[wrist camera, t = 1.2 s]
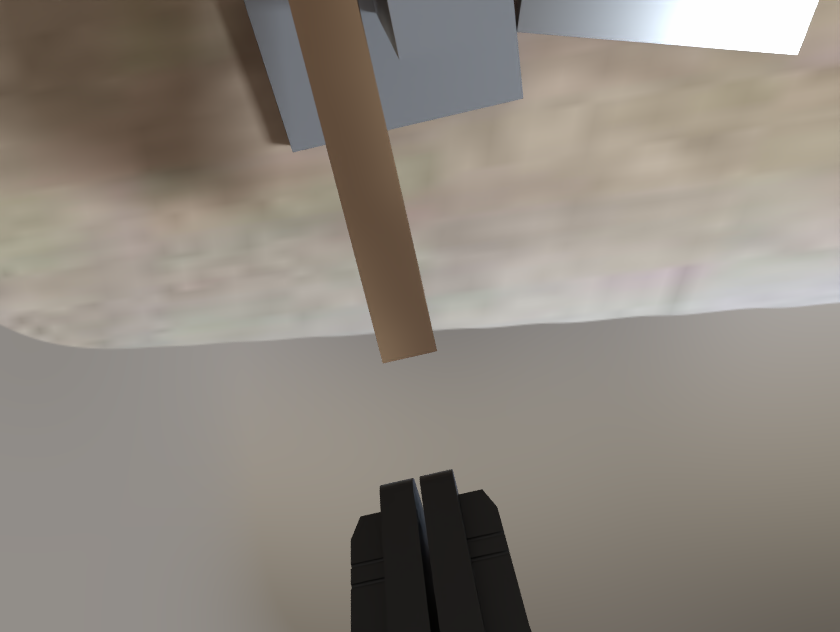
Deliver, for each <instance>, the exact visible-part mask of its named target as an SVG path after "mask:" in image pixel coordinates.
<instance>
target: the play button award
mask: <svg viewBox="0 0 840 632" xmlns="http://www.w3.org/2000/svg"><path fill="white" fill-rule="evenodd" d="M817 3H818V0H518V2H517V9H516V16H515V20H516V30H517V32H522V33H535V34H547V35H559V36H572V37H584V38H596V39H609V40H621V41H633V42H646V43H658V44H670V45H683V46H695V47H707V48H720V49H732V50H745V51H757V52H769V53H782V54H794V55H797V54H798V52H799V49H800V47H801V44H802V41H803V39H804V36H805V34H806V31H807V28H808V26H809V23H810V21H811V18H812V15H813V13H814V10H815V8H816V5H817Z"/></svg>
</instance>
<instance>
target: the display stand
mask: <svg viewBox="0 0 840 632" xmlns="http://www.w3.org/2000/svg"><path fill="white" fill-rule="evenodd" d="M244 3H245V6H246V9H247V12H248V15H249V18H250V21H251V24H252V28H253V31H254V34H255V37H256V40H257V43H258V46H259V49H260V52H261V55H262V58H263V62H264V65H265V68H266V71H267V74H268V77H269V80H270V83H271V86H272V89H273V92H274V96H275V99H276V102H277V105H278V108H279V111H280V114H281V117H282V120H283V123H284V126H285V129H286V133H287V136H288V139H289V142H290V145H291V148H292V151H293V152H296V151H300V150H305V149H309V148H313V147H318V146H322V145H326V143H325V140H324V136H323V132H322V128H321V124H320V120H319V117H318V113H317V109H316V105H315V101H314V97H313V94H312V90H311V86H310V82H309V78H308V75H307V71H306V67H305V63H304V59H303V55H302V52H301V48H300V44H299V40H298V36H297V32H296V29H295V25H294V21H293V17H292V13H291V9H290V6H289V2H288V0H244ZM358 4H359V8H360V13H361V17H362V22H363V26H364V30H365V35H366V39H367V43H368V48H369V52H370V57H371V61H372V65H373V70H374V74H375V79H376V83H377V87H378V92H379V96H380V100H381V105H382V109H383V114H384V118H385V122H386V127H387V130H390V129H394V128H399V127H403V126H407V125H412V124H416V123H420V122H424V121H429V120H433V119H437V118H442V117H446V116H450V115H454V114H459V113H463V112H467V111H471V110H476V109H480V108H484V107H489V106H493V105H497V104H501V103H506V102H510V101H514V100H518V99H523V91H522V81H521V71H520V60H519V50H518V40H517V30H516V20H515V10H514V0H358Z"/></svg>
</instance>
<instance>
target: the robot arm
mask: <svg viewBox="0 0 840 632" xmlns="http://www.w3.org/2000/svg"><path fill="white" fill-rule="evenodd" d="M420 486H421V494H422V501H423V507H422V503H421V500H420V497H419V493H418V490H417V487H416V483H415V480H414V479H413V478H411V479H407V480H402V481H398V482H393V483H389V484H385V485H381V486H380V504H381V505H380V506H381V512H379V513H374V514H370V515H365V516H361V517H360V519H359V521H358V524H357V526H356V529H355V531H354V534H353V536H352V538H351V567H352V569H351V586H352V589H351V632H531V629H530V626H529V623H528V619H527V615H526V612H525V608H524V604H523V601H522V597H521V593H520V589H519V586H518V582H517V579H516V575H515V571H514V567H513V564H512V560H511V556H510V553H509V549H508V545H507V541H506V538H505V535H504V530H503V526H502V523H501V519H500V515H499V512H498V508H497V506H496V505H495V504H494V503H493V502H492V500H491V499H490V498H489V497H488V496H487V495H486V493H485V492H484V491H483V490H477V491H473V492H468V493H464V494H458V490H457V486H456V481H455V477H454V474H453V470H452V469H451V470H447V471H442V472H438V473H433V474H429V475H424V476H420ZM423 509H424V510H423Z"/></svg>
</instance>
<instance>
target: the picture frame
mask: <svg viewBox="0 0 840 632" xmlns="http://www.w3.org/2000/svg"><path fill="white" fill-rule="evenodd" d="M288 2H289V6H290V9H291V13H292V17H293V21H294V25H295V29H296V32H297V36H298V40H299V44H300V48H301V52H302V55H303V59H304V63H305V67H306V71H307V75H308V78H309V82H310V86H311V90H312V94H313V97H314V101H315V105H316V109H317V113H318V117H319V120H320V124H321V128H322V132H323V136H324V140H325V143H326V147H327V151H328V155H329V159H330V163H331V166H332V170H333V174H334V178H335V182H336V186H337V189H338V193H339V197H340V201H341V205H342V209H343V212H344V216H345V220H346V224H347V228H348V232H349V235H350V239H351V243H352V247H353V251H354V255H355V258H356V262H357V266H358V270H359V274H360V277H361V281H362V285H363V289H364V293H365V297H366V300H367V304H368V308H369V312H370V316H371V320H372V323H373V327H374V331H375V335H376V339H377V342H378V346H379V350H380V354H381V358H382V362H383V363H387V362H391V361H396V360H400V359H404V358H409V357H413V356H418V355H422V354H427V353H431V352H435V351H437V349H436V344H435V340H434V336H433V331H432V326H431V322H430V317H429V312H428V308H427V303H426V299H425V294H424V290H423V285H422V281H421V276H420V271H419V267H418V263H417V258H416V254H415V249H414V245H413V241H412V236H411V232H410V228H409V223H408V219H407V214H406V210H405V206H404V201H403V197H402V192H401V188H400V184H399V179H398V175H397V171H396V166H395V162H394V157H393V153H392V149H391V144H390V140H389V136H388V131H387V127H386V122H385V118H384V114H383V109H382V105H381V100H380V96H379V92H378V87H377V83H376V79H375V74H374V70H373V65H372V61H371V57H370V52H369V48H368V43H367V39H366V35H365V30H364V26H363V22H362V17H361V13H360V8H359V4H358V0H288Z"/></svg>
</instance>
